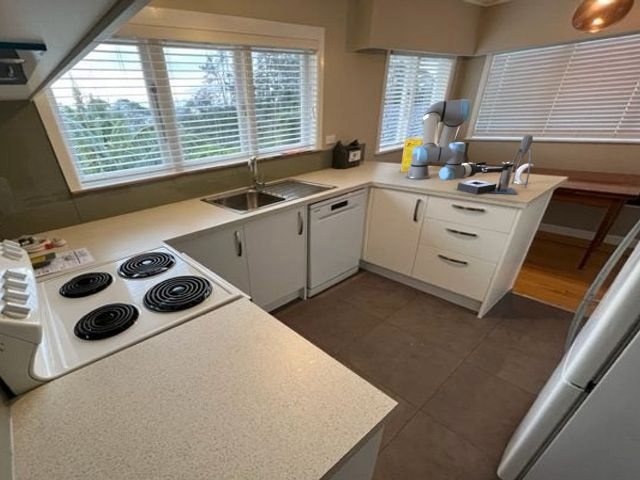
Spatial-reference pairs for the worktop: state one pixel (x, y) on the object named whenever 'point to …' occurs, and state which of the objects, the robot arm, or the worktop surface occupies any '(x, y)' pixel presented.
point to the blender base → (476, 186)
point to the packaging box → (409, 152)
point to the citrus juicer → (524, 149)
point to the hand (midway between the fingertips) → (496, 165)
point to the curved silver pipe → (519, 172)
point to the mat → (509, 191)
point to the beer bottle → (465, 155)
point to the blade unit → (505, 177)
